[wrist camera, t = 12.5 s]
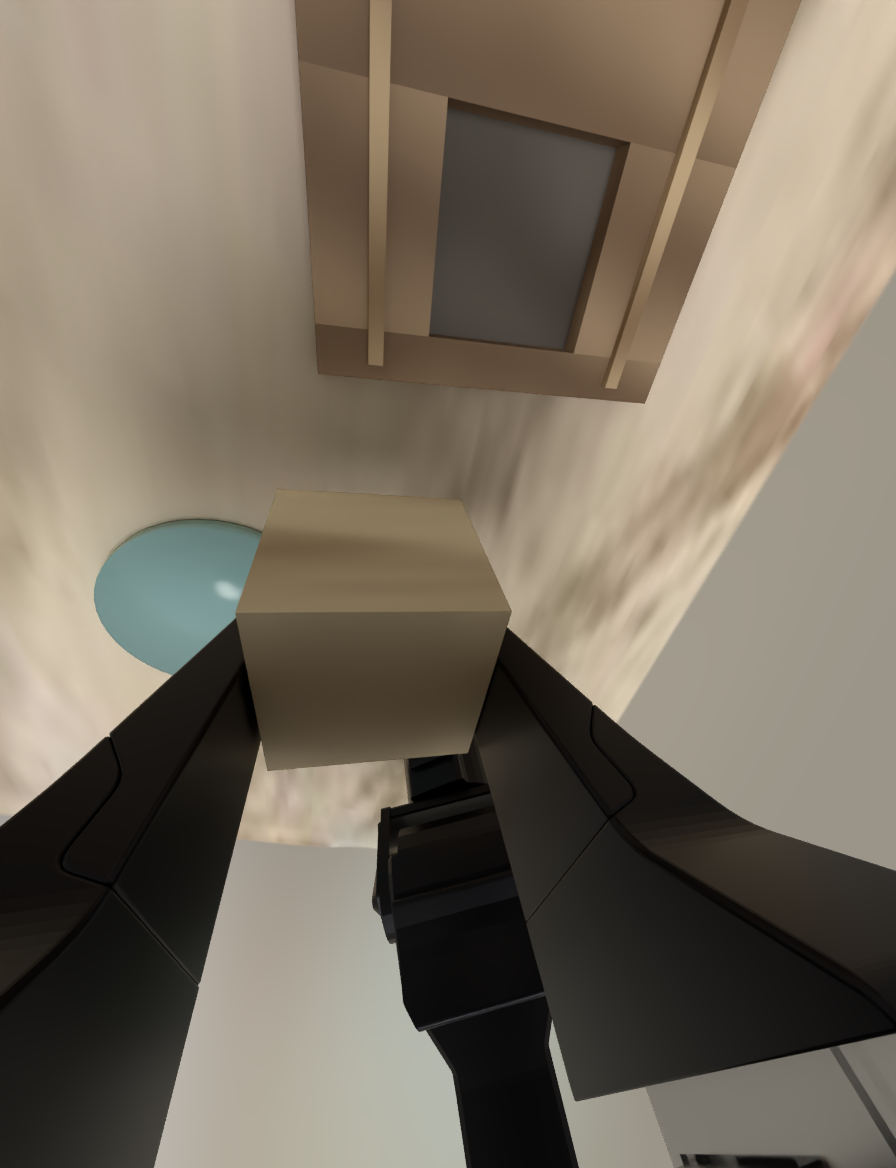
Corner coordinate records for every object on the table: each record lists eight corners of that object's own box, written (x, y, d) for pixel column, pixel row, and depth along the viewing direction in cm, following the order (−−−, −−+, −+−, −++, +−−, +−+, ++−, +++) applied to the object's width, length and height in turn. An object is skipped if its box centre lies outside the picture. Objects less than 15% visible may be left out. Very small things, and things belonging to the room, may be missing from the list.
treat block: (438, 626, 12) (467, 753, 9) (291, 628, 11) (267, 770, 8) (460, 499, 10) (511, 611, 6) (277, 488, 9) (234, 612, 6)
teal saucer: (362, 628, 23) (362, 638, 23) (213, 694, 24) (209, 706, 24) (237, 481, 17) (233, 489, 16) (45, 580, 18) (34, 591, 18)
